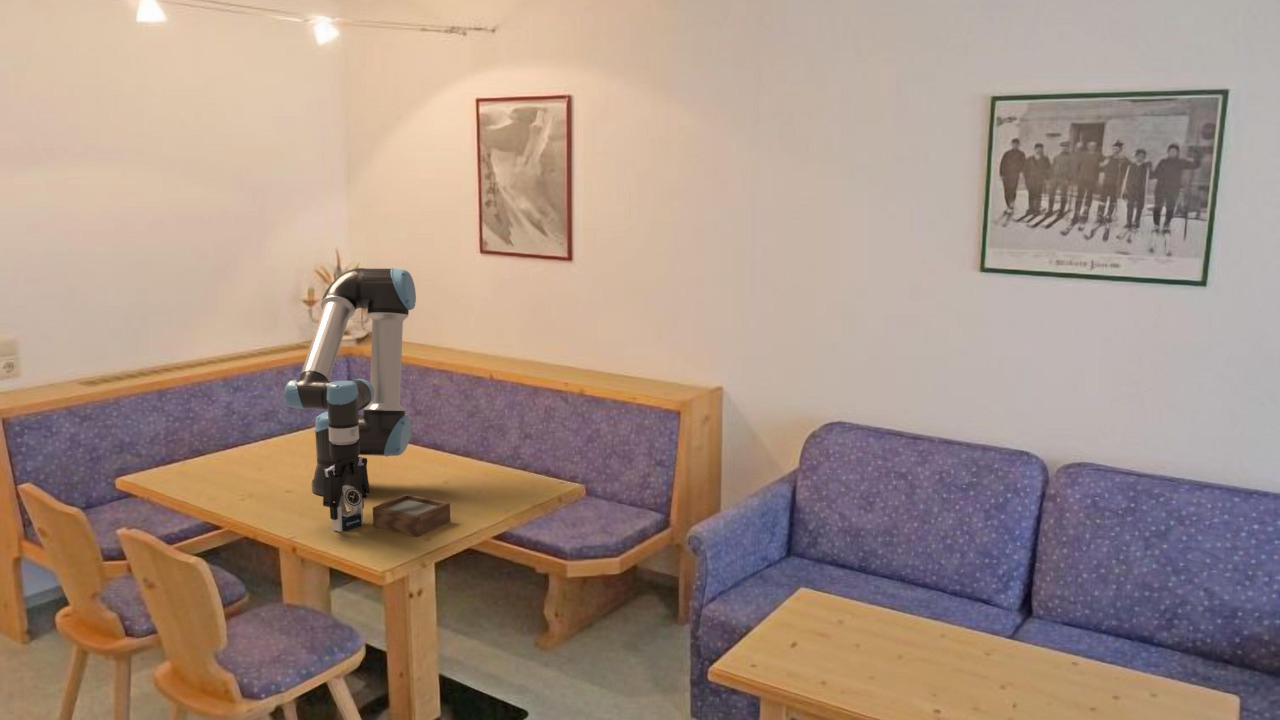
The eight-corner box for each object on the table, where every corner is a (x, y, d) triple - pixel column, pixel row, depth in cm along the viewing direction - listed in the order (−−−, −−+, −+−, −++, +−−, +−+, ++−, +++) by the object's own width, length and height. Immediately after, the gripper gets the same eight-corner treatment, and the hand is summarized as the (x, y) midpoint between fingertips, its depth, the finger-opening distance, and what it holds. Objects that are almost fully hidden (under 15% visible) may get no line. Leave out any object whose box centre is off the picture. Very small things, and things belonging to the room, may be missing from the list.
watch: (348, 533, 257) (347, 492, 255) (329, 526, 261) (327, 486, 259) (366, 527, 261) (364, 487, 259) (347, 520, 266) (345, 480, 264)
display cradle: (373, 526, 262) (372, 507, 261) (406, 511, 273) (406, 493, 272) (417, 536, 255) (417, 517, 254) (450, 521, 266) (449, 502, 265)
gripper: (326, 452, 246) (330, 540, 251) (382, 434, 264) (385, 517, 268) (304, 448, 250) (308, 535, 254) (361, 430, 267) (364, 512, 271)
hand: (347, 525), depth 261 cm, fingers open, 7 cm apart
